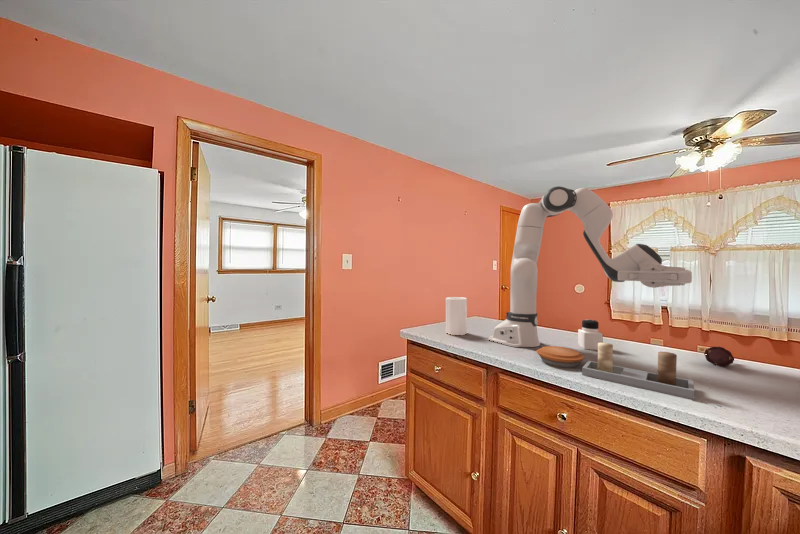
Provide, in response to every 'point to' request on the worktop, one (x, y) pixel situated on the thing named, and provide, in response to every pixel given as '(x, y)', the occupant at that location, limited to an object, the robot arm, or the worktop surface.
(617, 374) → the rack
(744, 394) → the worktop surface
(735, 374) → the worktop surface
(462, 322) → the cup
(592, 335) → the medicine bottle
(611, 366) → the birch dowel
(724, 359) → the dark brown oval piece
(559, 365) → the pie
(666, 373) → the walnut dowel
